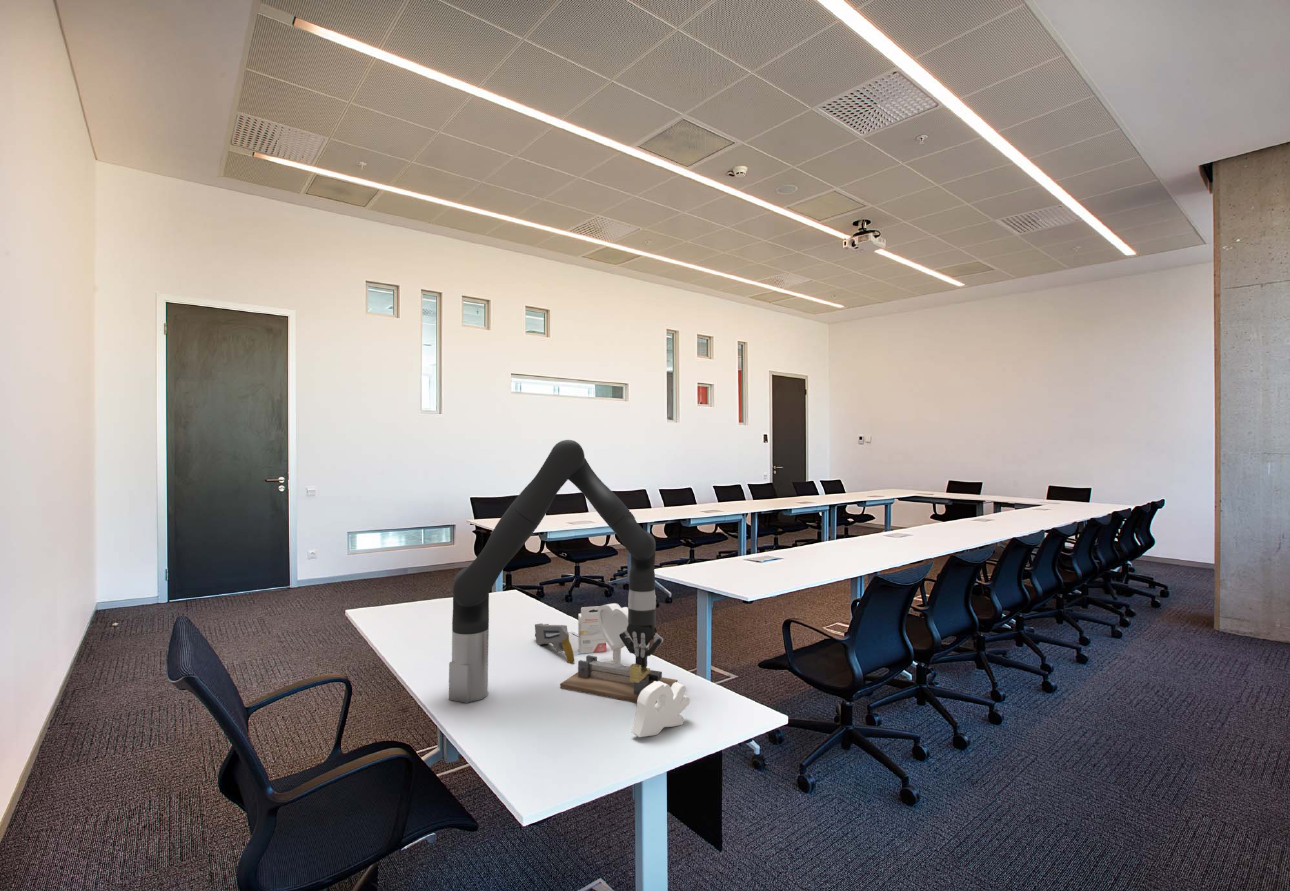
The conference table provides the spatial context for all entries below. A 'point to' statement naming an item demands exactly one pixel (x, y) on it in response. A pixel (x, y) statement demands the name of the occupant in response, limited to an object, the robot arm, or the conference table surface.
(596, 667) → the tong arm
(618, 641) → the heart sculpture
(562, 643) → the gun
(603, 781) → the conference table surface
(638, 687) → the tong frame
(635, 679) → the lock bolt
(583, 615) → the ink cartridge box
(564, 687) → the walnut board
